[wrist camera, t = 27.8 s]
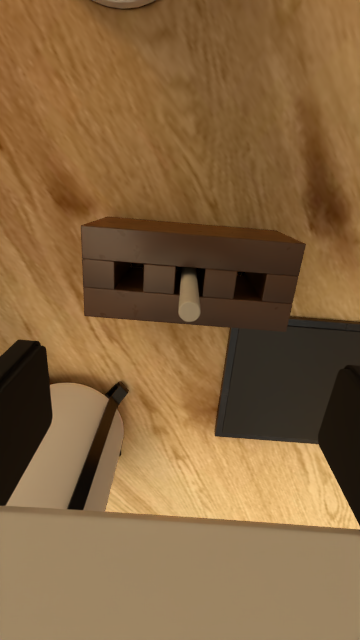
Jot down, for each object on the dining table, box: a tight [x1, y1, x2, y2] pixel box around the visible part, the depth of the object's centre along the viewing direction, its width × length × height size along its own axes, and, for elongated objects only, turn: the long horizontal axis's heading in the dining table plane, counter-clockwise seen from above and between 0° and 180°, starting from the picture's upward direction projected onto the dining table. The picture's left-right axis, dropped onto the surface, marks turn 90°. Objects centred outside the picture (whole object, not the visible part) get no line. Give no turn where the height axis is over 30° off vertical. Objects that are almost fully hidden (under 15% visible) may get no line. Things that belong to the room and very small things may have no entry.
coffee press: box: [6, 382, 129, 512], centre depth 25 cm, size 17×16×30 cm
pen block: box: [81, 217, 306, 332], centre depth 28 cm, size 7×16×8 cm, turn 86°
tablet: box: [215, 316, 360, 444], centre depth 36 cm, size 22×16×1 cm
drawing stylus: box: [178, 267, 201, 322], centre depth 25 cm, size 1×1×14 cm
